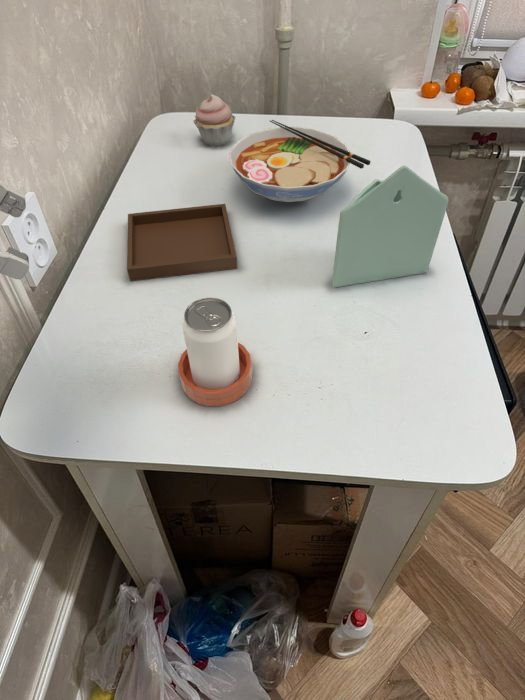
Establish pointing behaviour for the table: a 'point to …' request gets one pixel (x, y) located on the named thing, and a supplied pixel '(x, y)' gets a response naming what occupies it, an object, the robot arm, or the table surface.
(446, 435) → the table surface
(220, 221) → the tray
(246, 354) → the bowl
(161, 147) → the table surface
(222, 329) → the can
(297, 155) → the ramen bowl
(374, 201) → the planter
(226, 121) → the cupcake
